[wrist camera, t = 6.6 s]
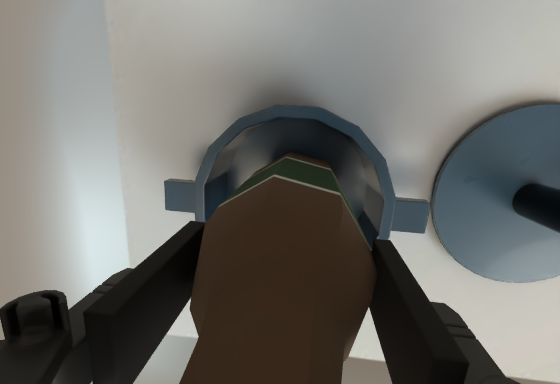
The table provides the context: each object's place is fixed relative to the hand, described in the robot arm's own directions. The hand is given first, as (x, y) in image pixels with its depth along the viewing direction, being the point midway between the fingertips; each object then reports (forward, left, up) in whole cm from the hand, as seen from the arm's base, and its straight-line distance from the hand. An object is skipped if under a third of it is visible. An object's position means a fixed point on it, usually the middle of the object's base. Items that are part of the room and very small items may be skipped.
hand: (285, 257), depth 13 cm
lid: (-1, +20, -13) cm, 24 cm away
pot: (0, 0, -14) cm, 14 cm away
